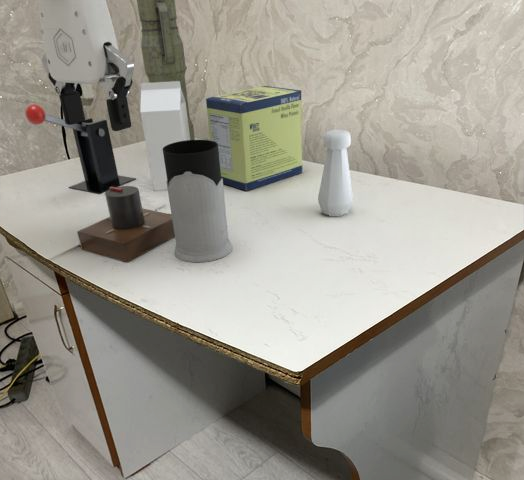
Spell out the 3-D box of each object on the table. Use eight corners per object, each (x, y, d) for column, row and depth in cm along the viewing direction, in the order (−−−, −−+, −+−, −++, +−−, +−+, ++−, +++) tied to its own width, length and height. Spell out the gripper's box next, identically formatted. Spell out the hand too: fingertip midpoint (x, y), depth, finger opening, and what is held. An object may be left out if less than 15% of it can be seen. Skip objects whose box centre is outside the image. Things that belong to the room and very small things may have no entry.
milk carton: (191, 193, 102) (176, 84, 92) (154, 195, 103) (135, 86, 92) (195, 182, 108) (182, 78, 97) (161, 184, 109) (144, 80, 98)
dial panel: (127, 262, 78) (122, 242, 77) (81, 249, 83) (76, 230, 81) (180, 233, 86) (178, 214, 85) (136, 223, 91) (132, 205, 89)
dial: (151, 220, 83) (145, 186, 80) (128, 231, 80) (120, 196, 77) (128, 215, 86) (122, 182, 83) (105, 225, 83) (97, 191, 80)
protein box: (303, 172, 110) (302, 89, 101) (246, 192, 101) (240, 103, 93) (269, 163, 116) (265, 84, 107) (212, 181, 108) (203, 97, 99)
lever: (32, 122, 90) (33, 102, 89) (20, 121, 92) (22, 101, 91) (101, 142, 103) (103, 124, 102) (90, 140, 104) (92, 123, 103)
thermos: (169, 164, 120) (140, -26, 100) (151, 154, 128) (121, -24, 109) (205, 157, 123) (184, -29, 103) (185, 147, 132) (162, -26, 112)
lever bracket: (100, 199, 103) (84, 129, 95) (69, 193, 107) (51, 125, 100) (137, 184, 109) (124, 117, 102) (107, 178, 114) (92, 114, 106)
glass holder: (169, 263, 77) (151, 156, 69) (186, 225, 89) (172, 130, 80) (229, 261, 77) (218, 153, 68) (238, 224, 88) (230, 128, 80)
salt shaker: (312, 209, 92) (312, 129, 85) (342, 203, 93) (344, 125, 86) (327, 220, 87) (328, 137, 80) (358, 214, 89) (362, 132, 81)
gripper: (1, -16, 69) (38, 126, 78) (91, -21, 60) (120, 138, 70) (49, -18, 74) (79, 115, 83) (139, -23, 65) (160, 125, 75)
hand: (98, 125), depth 77 cm, fingers open, 9 cm apart
